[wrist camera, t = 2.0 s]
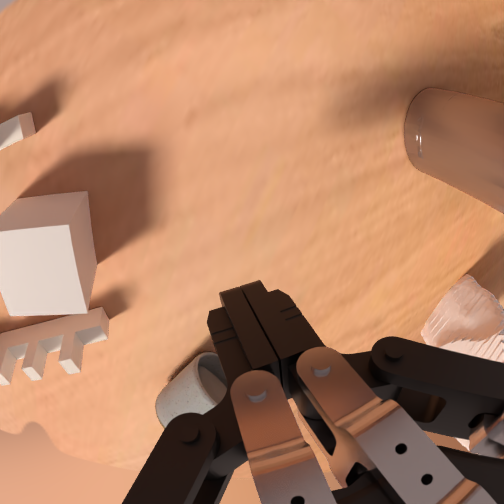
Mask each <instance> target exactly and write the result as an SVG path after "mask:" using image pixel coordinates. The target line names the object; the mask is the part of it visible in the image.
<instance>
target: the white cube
mask: <svg viewBox="0 0 504 504" xmlns="http://www.w3.org/2000/svg"><path fill="white" fill-rule="evenodd" d="M96 268H97V260H96V254H95V248H94V241H93V234H92V226H91V218H90V209H89V199H88V191H80V192H70V193H60V194H51V195H42V196H34V197H26V198H19V199H16V200H15V201H14V202H13V203H12V204H11V205H10V206H9V207H8V208H7V209H6V210H5V211H4V212H3V213H2V214H1V215H0V291H1V294H2V297H3V299H4V302H5V305H6V307H7V310H8V312H9V314H10V316H36V315H65V314H86V313H88V309H89V303H90V298H91V292H92V287H93V282H94V278H95V273H96Z"/></svg>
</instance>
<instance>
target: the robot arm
mask: <svg viewBox="0 0 504 504" xmlns="http://www.w3.org/2000/svg"><path fill="white" fill-rule="evenodd" d="M404 138H405V146H406V151H407V154H408V156H409V159H410V161H411V162H412V164H413V165H414V166H415V167H416V168H417V169H418V170H419V171H421V172H423V173H426V174H428V175H430V176H432V177H434V178H437V179H439V180H441V181H443V182H445V183H447V184H449V185H451V186H453V187H455V188H457V189H459V190H461V191H463V192H465V193H467V194H469V195H470V196H472V197H474V198H476V199H478V200H480V201H482V202H484V203H485V204H487V205H489V206H491V207H493V208H494V209H496V210H498V211H500V212H501V213H503V214H504V103H501V102H497V101H493V100H490V99H486V98H482V97H477V96H473V95H468V94H465V93H460V92H454V91H449V90H443V89H437V88H428V89H425V90H423V91H421V92H420V93H419V94H418V95H417V96H416V97H415V98H414V100H413V101H412V103H411V105H410V107H409V110H408V112H407V116H406V121H405V129H404ZM219 295H220V300H221V304H222V307H221V308H217V309H214V310H211V311H209V315H208V320H207V324H208V327H209V331H210V334H211V337H212V340H213V343H214V346H215V349H216V352H217V355H218V358H219V360H220V363H221V366H222V369H223V372H224V374H225V377H226V380H227V385H228V386H227V391H226V394H225V396H224V398H223V399H222V401H221V402H220V403H219V404H218V405H216V406H215V407H214V408H212V409H211V410H209V411H207V412H206V413H204V414H203V415H202V414H199V413H193V412H190V413H183V414H180V415H178V416H176V417H175V418H173V419H172V420H171V421H170V422H169V423H168V425H167V426H166V428H165V430H164V431H163V433H162V435H161V437H160V438H159V440H158V442H157V444H156V445H155V447H154V449H153V451H152V452H151V454H150V456H149V458H148V459H147V461H146V463H145V464H144V466H143V468H142V470H141V471H140V473H139V475H138V477H137V478H136V480H135V482H134V484H133V485H132V487H131V489H130V490H129V492H128V494H127V496H126V497H125V499H124V501H123V502H122V504H219V503H220V501H221V499H222V496H223V494H224V492H225V490H226V488H227V485H228V483H229V481H230V479H231V476H232V474H233V472H234V470H235V469H236V468H237V467H239V466H240V465H242V464H243V463H245V462H246V461H247V460H249V466H250V469H251V473H252V476H253V479H254V482H255V486H256V489H257V492H258V495H259V498H260V501H261V503H262V504H504V363H502V362H498V361H493V360H489V359H484V358H480V357H476V356H471V355H467V354H463V353H459V352H454V351H450V350H446V349H442V348H438V347H434V346H430V345H426V344H422V343H419V342H415V341H411V340H407V339H403V338H399V337H393V336H391V337H385V338H382V339H380V340H378V341H377V342H376V343H375V344H374V346H373V347H372V351H367V352H361V353H355V354H341V353H339V352H337V351H336V350H334V349H332V348H328V347H326V346H325V345H324V344H323V342H322V341H321V340H320V338H319V337H318V335H317V334H316V333H315V331H314V330H313V328H312V327H311V326H310V324H309V323H308V321H307V320H306V319H305V317H304V316H303V315H302V313H301V312H300V310H299V309H298V307H296V305H295V303H294V302H293V300H292V299H291V298H290V296H289V295H287V294H285V293H284V292H282V291H280V290H278V289H277V290H274V291H271V292H267V290H266V288H265V287H264V285H263V284H262V282H261V281H260V280H258V281H255V282H252V283H249V284H245V285H242V286H240V287H236V288H233V289H229V290H226V291H223V292H220V293H219ZM290 398H293V400H294V401H295V403H296V405H297V409H298V416H299V418H300V419H301V421H302V422H303V424H304V425H305V427H306V428H307V430H308V431H309V433H310V434H311V436H312V437H313V439H314V440H315V442H316V443H317V445H318V446H319V448H320V449H321V451H322V452H323V454H324V455H325V457H326V458H327V460H328V462H329V466H330V469H331V471H332V473H333V475H334V476H335V477H336V479H337V480H338V482H339V484H340V485H341V486H342V489H338V490H334V491H331V490H330V488H329V486H328V484H327V481H326V479H325V477H324V475H323V472H322V470H321V468H320V465H319V463H318V461H317V458H316V456H315V454H314V452H313V450H312V448H311V447H310V445H309V444H308V443H306V442H305V440H304V438H303V436H302V434H301V431H300V429H299V426H298V424H297V422H296V419H295V417H294V415H293V412H292V410H291V407H290V405H289V403H288V399H290ZM423 430H424V431H429V432H433V433H437V434H441V435H446V436H451V437H455V438H460V439H466V440H469V441H470V444H469V450H470V451H471V452H472V453H469V452H465V451H460V450H456V449H452V448H448V447H443V446H436V445H435V444H434V443H433V442H432V440H431V439H430V438H429V437H428V436H427V435H426V434H425V433H424V432H423ZM474 453H478V454H474ZM479 454H480V455H479Z"/></svg>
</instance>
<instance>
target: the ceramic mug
mask: <svg viewBox="0 0 504 504" xmlns="http://www.w3.org/2000/svg"><path fill="white" fill-rule="evenodd" d="M227 386H228V385H227V380H226V377H225V374H224V372H223V369H222V366H221V363H220V360H219V358H218V355H217V354H216V353H213V352H204V353H201V354H200V355H198V356H197V357H195V359H194V360H193V361H192V362H191V363H190V364H188V365H187V366H186V367H185V368H184V369H183V370H182V371H181V372H180V373H179V374H178V375H177V376H176V377H175V378H174V379H173V380H172V381H171V382H169V383H168V384H167V385H166V386H165V387H164V388H163V389H162V391H161V392H160V394H159V395H158V397H157V399H156V405H155V408H156V414H157V417H158V419H159V421H160V423H161V425H162V426H163V428H164V429H165V428H166V426H167V425H168V423H169V422H170V421H171V420H172V419H173V418H175V417H176V416H178V415H180V414H183V413H190V412H193V413H199V414H202V415H203V414H204V413H206V412H207V411H209V410H211V409H212V408H214V407H215V406H216V405H218V404H219V403H220V402H221V401H222V399H223V398H224V396H225V394H226V391H227Z"/></svg>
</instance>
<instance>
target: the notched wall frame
mask: <svg viewBox="0 0 504 504" xmlns="http://www.w3.org/2000/svg"><path fill="white" fill-rule="evenodd" d="M33 134H36V131H35V126H34V122H33V117H32V113H31V112H29V113H25V114H20V115H17V116H15V117H13V118H11V119H9V120H7V121H5V122H3V123H1V124H0V150H2V149H4V148H6V147H8V146H10V145H12V144H14V143H16V142H18V141H20V140H22V139H25V138H27V137H29V136H31V135H33ZM108 331H109V319H108V317H107V315H106V313H105V311H104V309H103V307H99V308H95V309H91V310H88V313H86V314H73V315H69V316H65V317H61V318H57V319H54V320H50V321H46V322H42V323H38V324H35V325H31V326H27V327H23V328H19V329H15V330H11V331H8V332H4V333H0V384H1V385H8V384H10V383H11V379H12V375H13V371H14V367H15V363H16V360H17V359H22V358H24V361H23V365H22V370H23V371H24V372H25V373H26V374H27V376H28V377H29V378H30V379H31V380H32V381H34V380H40V379H43V373H44V368H45V363H46V358H47V353H50V352H55V351H59V350H60V355H59V361H58V362H59V363H60V364H61V366H62V367H63V368H64V369H65V371H66V372H67V373H68V374H74V373H79V372H81V365H82V356H83V347H84V345H86V344H90V343H94V342H98V341H102V340H107V339H108Z"/></svg>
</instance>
